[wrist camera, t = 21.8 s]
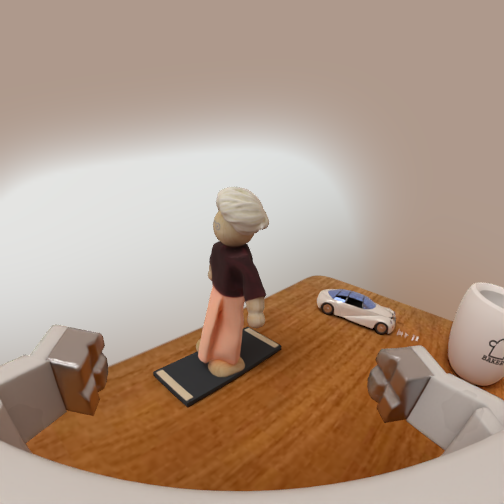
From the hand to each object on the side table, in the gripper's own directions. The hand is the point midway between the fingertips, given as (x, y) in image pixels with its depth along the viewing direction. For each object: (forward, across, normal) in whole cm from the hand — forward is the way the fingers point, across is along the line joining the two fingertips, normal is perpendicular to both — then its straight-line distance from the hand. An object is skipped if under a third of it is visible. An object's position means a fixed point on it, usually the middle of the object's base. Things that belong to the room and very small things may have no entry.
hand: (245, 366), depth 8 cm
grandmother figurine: (+12, 0, +10) cm, 15 cm away
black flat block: (+12, 0, +10) cm, 15 cm away
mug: (+8, -25, +10) cm, 28 cm away
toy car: (+19, -16, +10) cm, 26 cm away
